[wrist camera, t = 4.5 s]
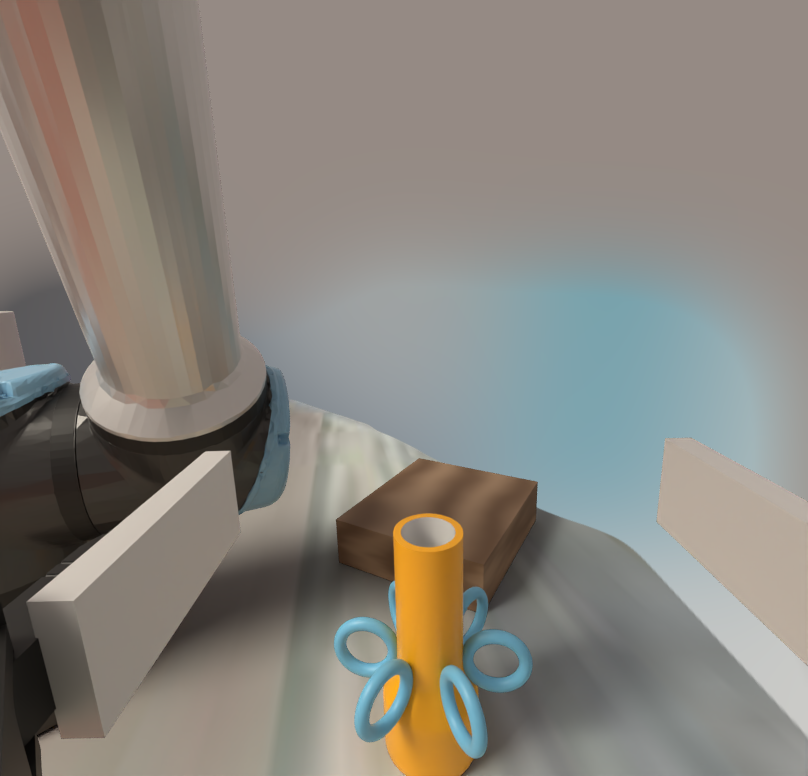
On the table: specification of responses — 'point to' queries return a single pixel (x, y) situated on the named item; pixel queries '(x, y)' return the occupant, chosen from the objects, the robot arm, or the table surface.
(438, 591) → the orange blue tall piece
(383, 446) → the table surface
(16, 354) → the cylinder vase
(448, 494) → the walnut block
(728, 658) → the table surface
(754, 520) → the robot arm
